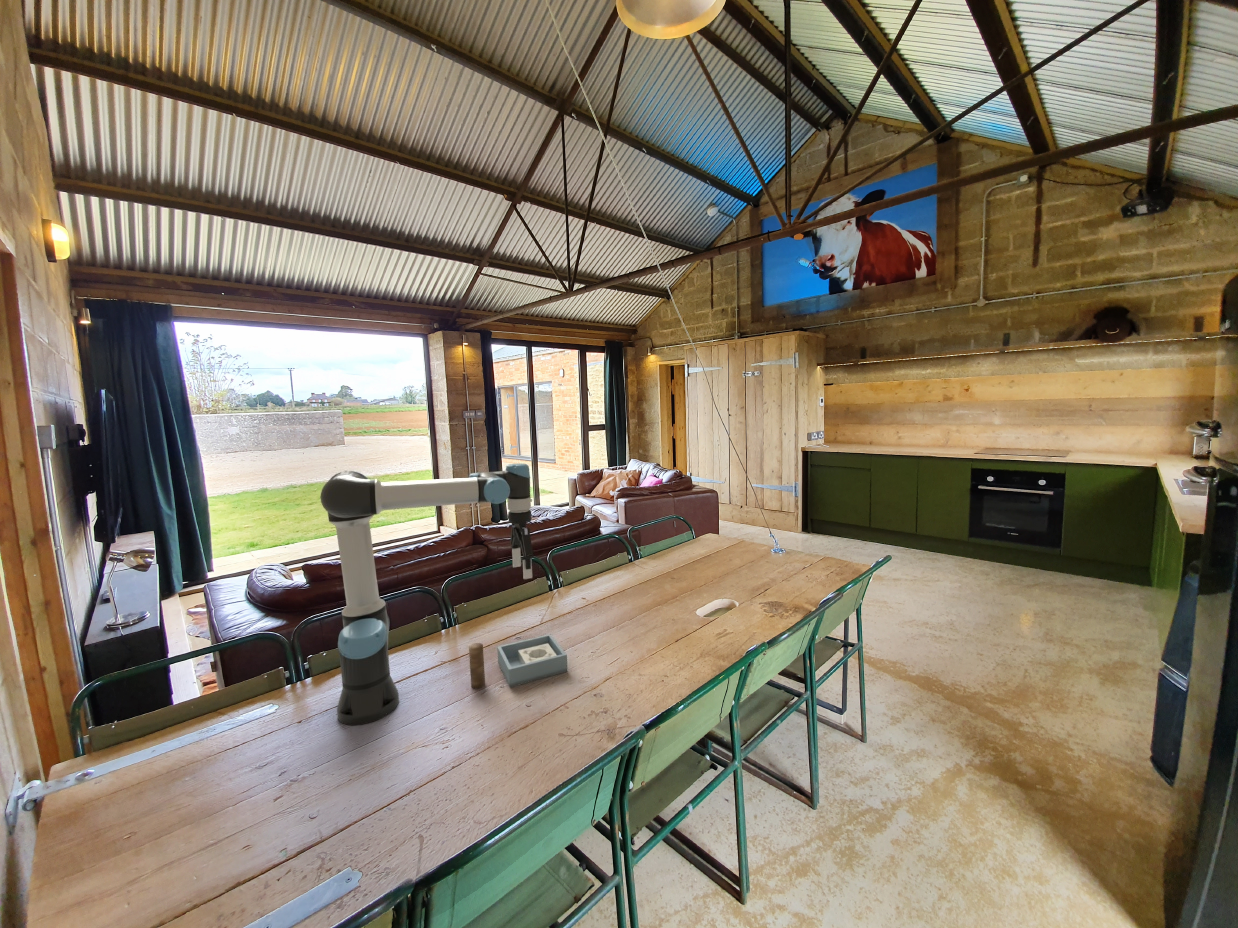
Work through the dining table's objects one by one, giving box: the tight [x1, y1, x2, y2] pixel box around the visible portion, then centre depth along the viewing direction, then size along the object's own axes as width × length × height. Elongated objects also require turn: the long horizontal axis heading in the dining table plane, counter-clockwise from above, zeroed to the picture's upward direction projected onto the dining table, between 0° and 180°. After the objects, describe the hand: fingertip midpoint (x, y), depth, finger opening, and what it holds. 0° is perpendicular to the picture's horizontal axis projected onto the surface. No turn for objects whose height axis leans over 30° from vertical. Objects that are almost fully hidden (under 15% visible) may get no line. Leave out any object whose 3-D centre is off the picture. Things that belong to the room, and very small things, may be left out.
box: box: [496, 633, 568, 688], centre depth 152 cm, size 18×16×6 cm
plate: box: [518, 643, 557, 664], centre depth 153 cm, size 10×10×3 cm
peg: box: [468, 642, 486, 689], centre depth 142 cm, size 4×4×12 cm
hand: (522, 572), depth 162 cm, fingers open, 13 cm apart
